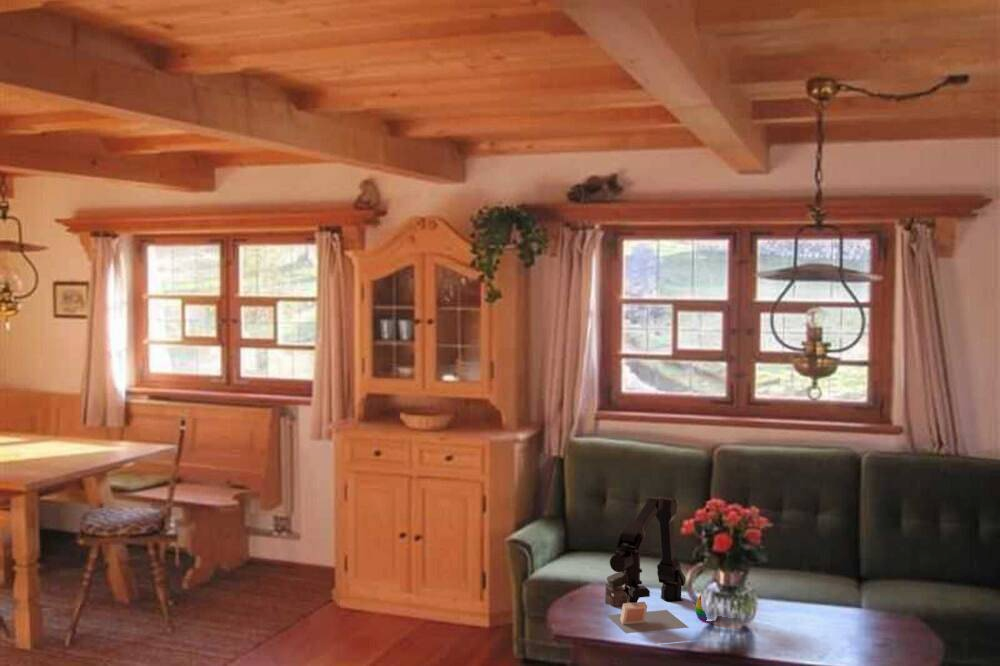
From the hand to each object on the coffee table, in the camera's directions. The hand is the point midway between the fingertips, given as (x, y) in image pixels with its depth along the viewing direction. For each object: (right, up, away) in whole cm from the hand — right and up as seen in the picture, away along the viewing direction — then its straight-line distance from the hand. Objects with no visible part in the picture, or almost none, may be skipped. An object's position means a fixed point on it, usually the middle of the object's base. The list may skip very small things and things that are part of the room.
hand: (631, 609), depth 334 cm
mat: (+6, -5, +1) cm, 7 cm away
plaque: (0, -4, 0) cm, 4 cm away
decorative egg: (+27, -5, +4) cm, 28 cm away
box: (-3, -4, +20) cm, 20 cm away
